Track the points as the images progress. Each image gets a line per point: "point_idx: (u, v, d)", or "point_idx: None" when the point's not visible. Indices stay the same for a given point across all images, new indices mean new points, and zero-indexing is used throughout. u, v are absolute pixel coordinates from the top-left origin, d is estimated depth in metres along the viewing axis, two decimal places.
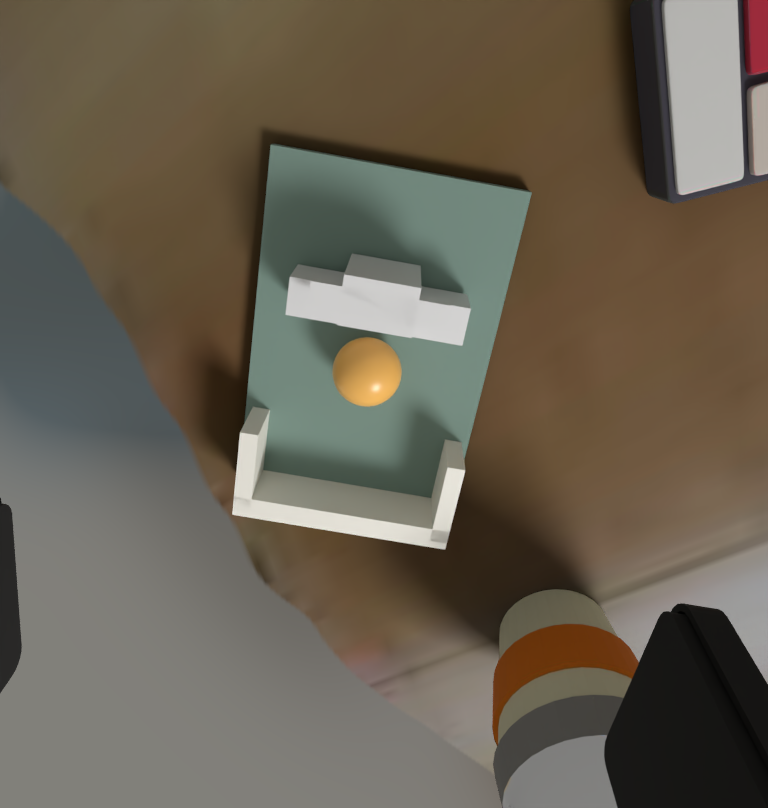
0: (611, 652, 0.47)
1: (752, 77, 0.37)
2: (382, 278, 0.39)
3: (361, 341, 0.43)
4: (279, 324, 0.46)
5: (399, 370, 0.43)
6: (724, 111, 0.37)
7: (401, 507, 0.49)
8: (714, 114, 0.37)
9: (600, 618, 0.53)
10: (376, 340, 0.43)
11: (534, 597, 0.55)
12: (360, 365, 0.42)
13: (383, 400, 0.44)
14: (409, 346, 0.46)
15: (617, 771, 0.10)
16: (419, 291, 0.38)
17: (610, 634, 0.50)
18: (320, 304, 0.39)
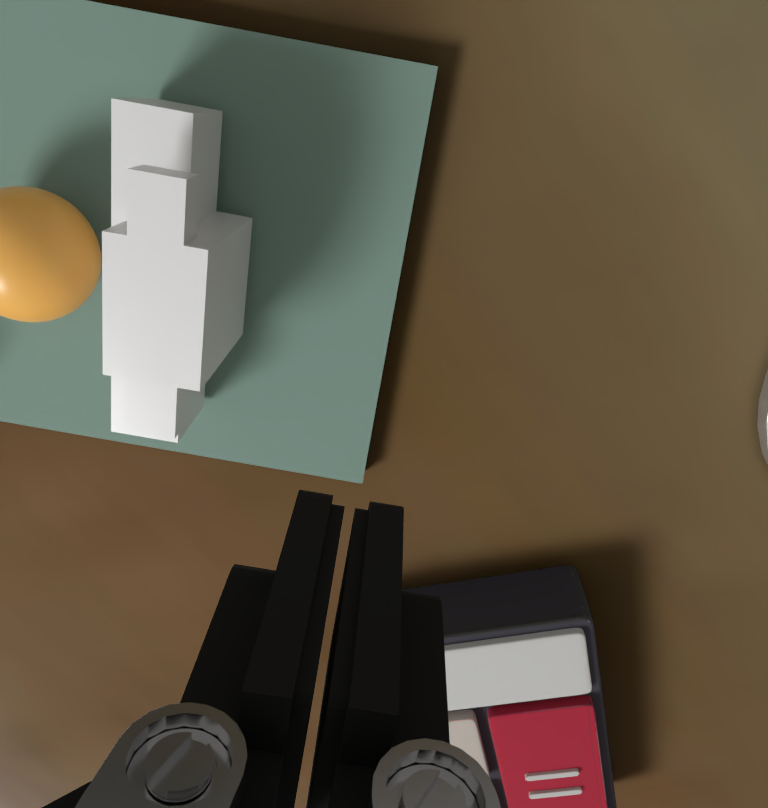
0: None
1: (484, 713, 0.31)
2: (209, 316, 0.21)
3: (87, 248, 0.23)
4: (97, 61, 0.23)
5: (44, 321, 0.23)
6: (449, 697, 0.30)
7: None
8: (447, 688, 0.30)
9: None
10: (95, 274, 0.23)
11: None
12: (32, 260, 0.21)
13: None
14: (100, 314, 0.26)
15: (329, 660, 0.11)
16: (193, 388, 0.21)
17: None
18: (140, 199, 0.19)
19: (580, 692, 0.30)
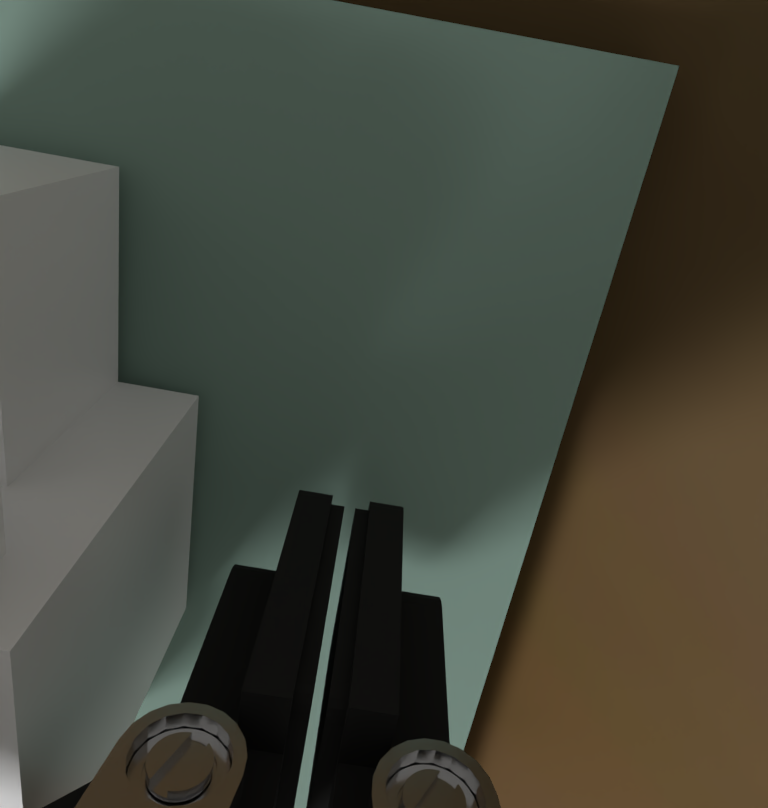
0: None
1: None
2: (53, 755, 0.07)
3: None
4: None
5: None
6: None
7: None
8: None
9: None
10: None
11: None
12: None
13: None
14: None
15: (329, 660, 0.11)
16: None
17: None
18: None
19: None
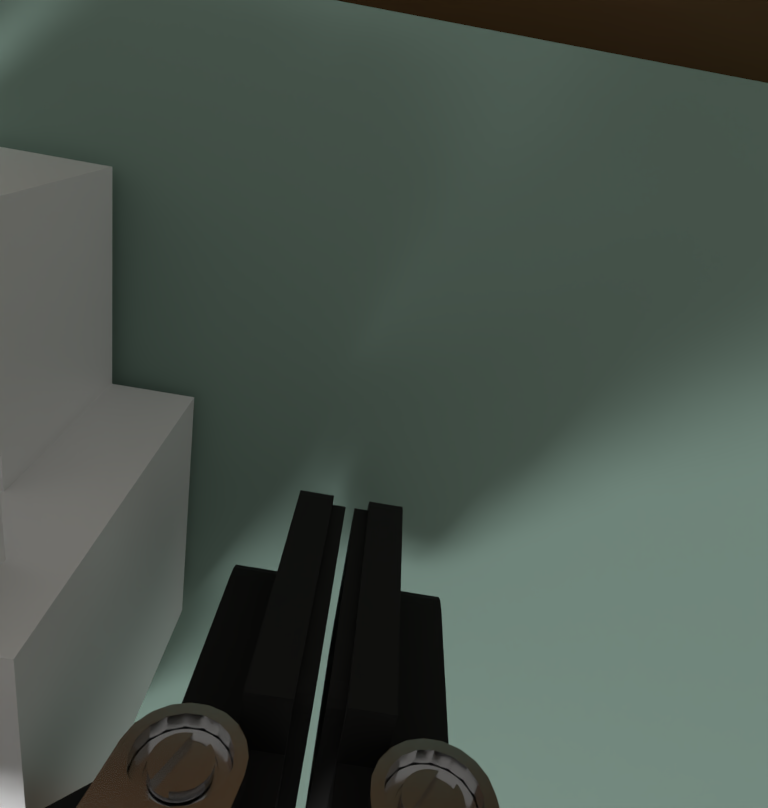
0: None
1: None
2: (55, 763, 0.07)
3: None
4: (425, 161, 0.10)
5: None
6: None
7: None
8: None
9: None
10: None
11: None
12: None
13: None
14: None
15: (328, 660, 0.11)
16: None
17: None
18: None
19: None
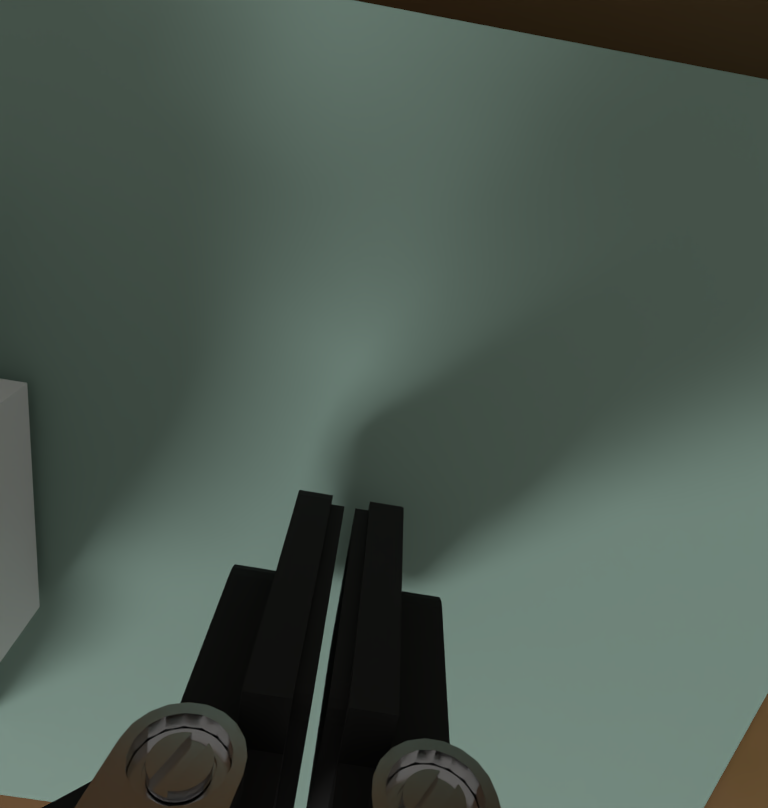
0: None
1: None
2: None
3: None
4: (206, 124, 0.09)
5: None
6: None
7: None
8: None
9: None
10: None
11: None
12: None
13: None
14: (181, 629, 0.13)
15: (329, 660, 0.11)
16: None
17: None
18: None
19: None
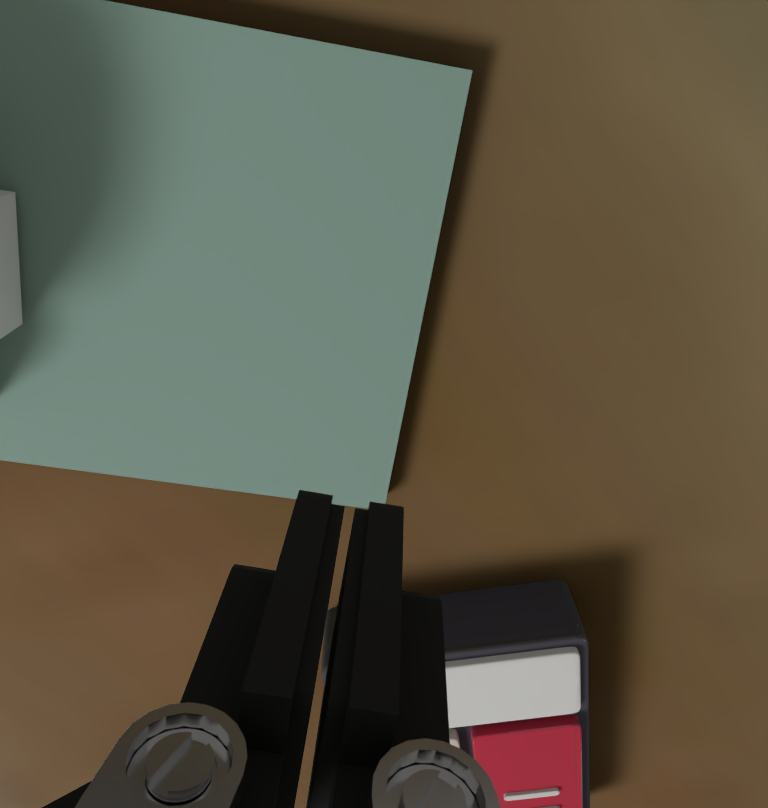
0: None
1: (467, 731, 0.30)
2: None
3: None
4: (95, 64, 0.20)
5: None
6: None
7: None
8: None
9: None
10: None
11: None
12: None
13: None
14: (99, 340, 0.24)
15: (329, 660, 0.11)
16: None
17: None
18: None
19: (568, 712, 0.29)
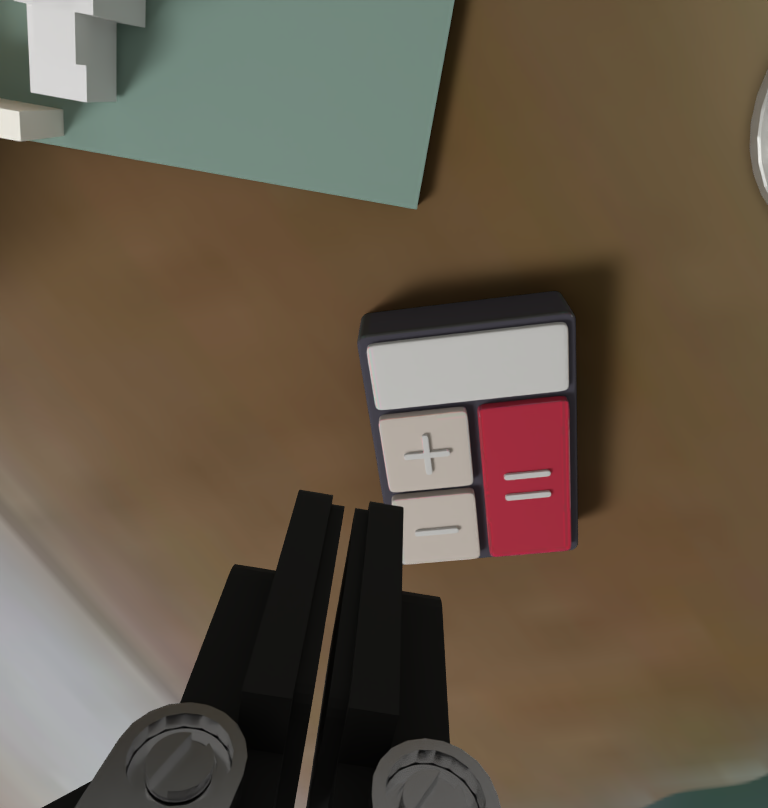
0: None
1: (474, 411, 0.36)
2: None
3: None
4: None
5: None
6: (447, 387, 0.35)
7: None
8: (446, 378, 0.35)
9: None
10: None
11: None
12: None
13: None
14: (201, 46, 0.31)
15: (329, 660, 0.11)
16: (87, 12, 0.26)
17: None
18: None
19: (558, 388, 0.35)
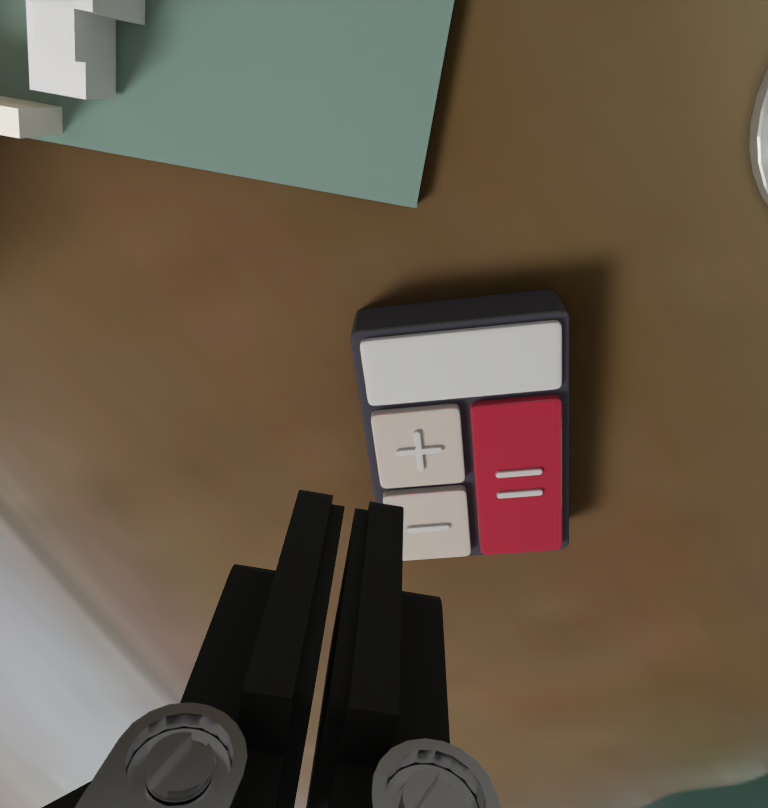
0: None
1: (467, 408, 0.36)
2: None
3: None
4: None
5: None
6: (440, 384, 0.35)
7: None
8: (439, 374, 0.35)
9: None
10: None
11: None
12: None
13: None
14: (200, 43, 0.31)
15: (329, 660, 0.11)
16: (87, 8, 0.26)
17: None
18: None
19: (551, 386, 0.35)
